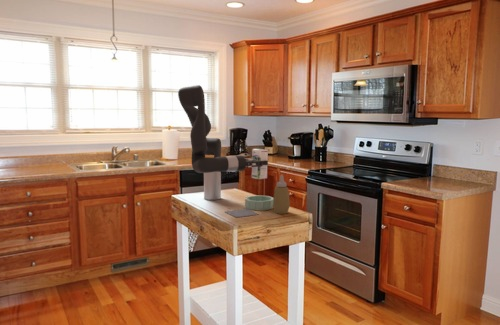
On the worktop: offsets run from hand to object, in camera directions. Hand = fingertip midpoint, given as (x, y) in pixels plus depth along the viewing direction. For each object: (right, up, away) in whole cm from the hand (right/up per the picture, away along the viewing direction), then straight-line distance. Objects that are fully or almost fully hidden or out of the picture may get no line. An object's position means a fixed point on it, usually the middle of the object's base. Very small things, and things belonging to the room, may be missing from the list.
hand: (263, 162), depth 196 cm
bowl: (-2, -23, +2) cm, 23 cm away
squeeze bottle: (+8, -24, -10) cm, 27 cm away
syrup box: (-2, -8, 0) cm, 9 cm away
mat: (-11, -24, -11) cm, 29 cm away
